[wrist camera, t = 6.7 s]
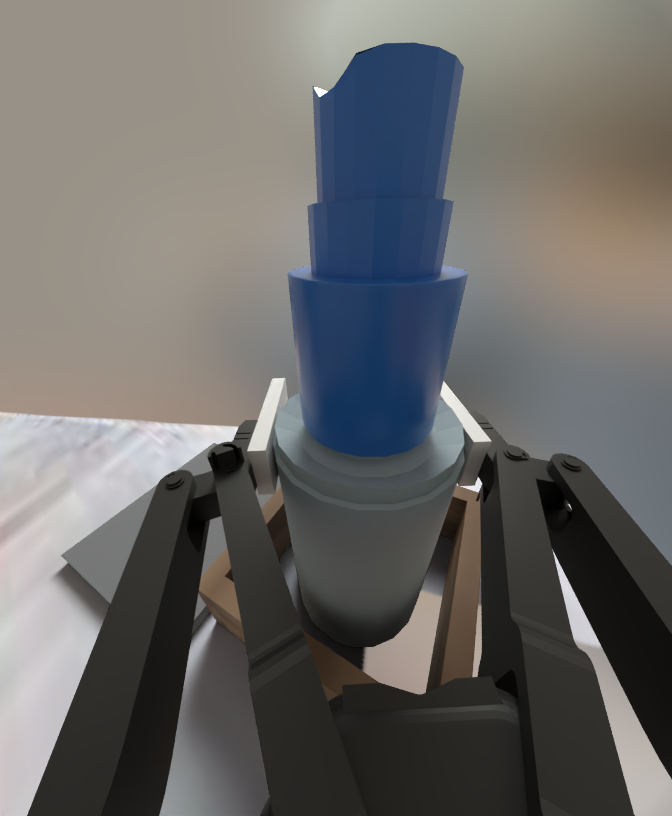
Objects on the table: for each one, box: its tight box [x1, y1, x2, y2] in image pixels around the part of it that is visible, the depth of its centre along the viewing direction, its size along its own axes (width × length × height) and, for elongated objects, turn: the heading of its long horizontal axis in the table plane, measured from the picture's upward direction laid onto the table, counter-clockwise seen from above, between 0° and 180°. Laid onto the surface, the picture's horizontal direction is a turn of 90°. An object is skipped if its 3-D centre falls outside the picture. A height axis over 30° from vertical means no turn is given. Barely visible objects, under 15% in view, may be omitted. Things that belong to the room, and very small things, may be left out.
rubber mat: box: [61, 443, 281, 635], centre depth 24 cm, size 13×15×1 cm
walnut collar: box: [198, 485, 481, 701], centre depth 19 cm, size 14×14×5 cm
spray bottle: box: [273, 43, 467, 647], centre depth 14 cm, size 9×9×25 cm
